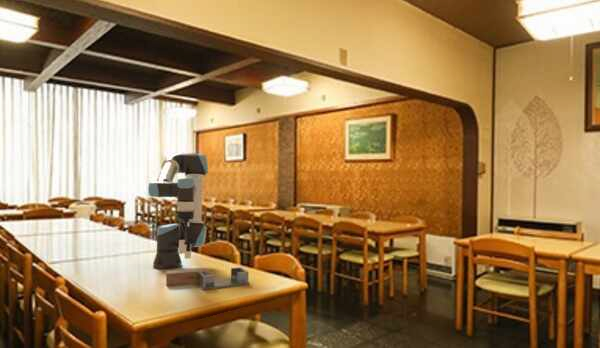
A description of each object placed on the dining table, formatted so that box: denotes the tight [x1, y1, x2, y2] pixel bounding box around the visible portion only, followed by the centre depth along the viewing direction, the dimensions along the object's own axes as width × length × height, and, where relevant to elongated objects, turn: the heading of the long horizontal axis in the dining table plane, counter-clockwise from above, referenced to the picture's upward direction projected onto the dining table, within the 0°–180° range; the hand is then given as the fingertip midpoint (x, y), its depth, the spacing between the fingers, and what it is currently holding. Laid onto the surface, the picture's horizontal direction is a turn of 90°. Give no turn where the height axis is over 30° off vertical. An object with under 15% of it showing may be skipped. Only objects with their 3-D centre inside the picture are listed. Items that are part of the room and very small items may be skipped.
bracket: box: [196, 266, 250, 291], centre depth 186 cm, size 11×22×6 cm, turn 118°
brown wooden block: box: [165, 268, 203, 287], centre depth 187 cm, size 5×16×6 cm, turn 112°
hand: (184, 255), depth 187 cm, fingers open, 13 cm apart
